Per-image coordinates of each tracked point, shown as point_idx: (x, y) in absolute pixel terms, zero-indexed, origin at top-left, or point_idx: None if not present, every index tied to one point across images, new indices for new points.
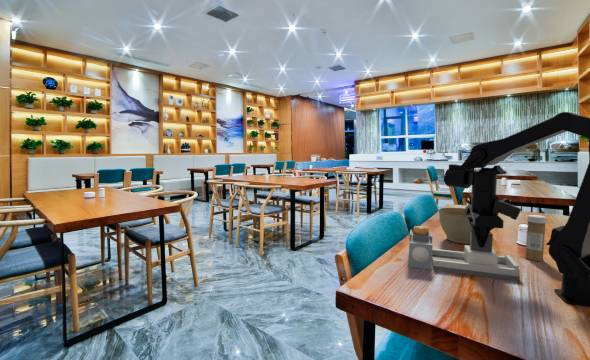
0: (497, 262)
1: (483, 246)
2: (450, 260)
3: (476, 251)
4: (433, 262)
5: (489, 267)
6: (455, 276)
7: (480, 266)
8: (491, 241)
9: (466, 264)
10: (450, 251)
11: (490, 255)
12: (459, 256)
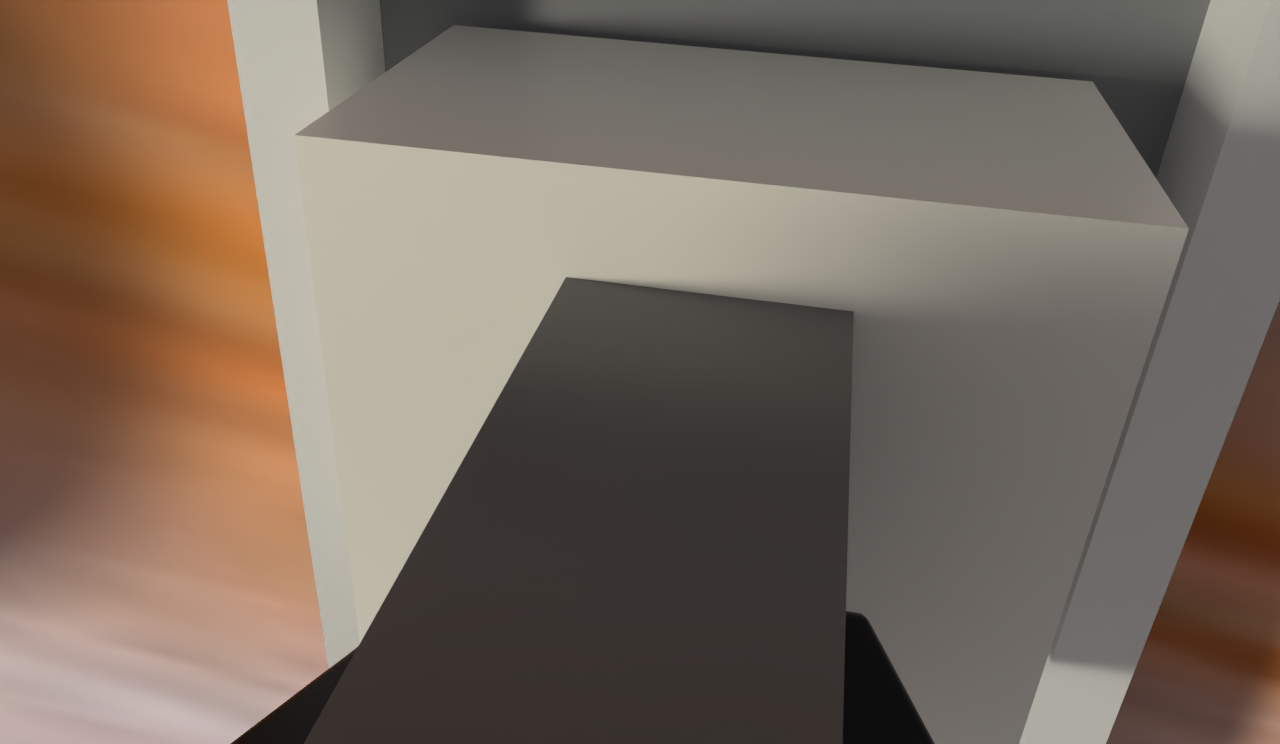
0: (1132, 148)
1: (871, 645)
2: None
3: None
4: None
5: (1258, 337)
6: (1246, 737)
7: (1191, 491)
8: (841, 579)
9: (1122, 701)
10: None
11: (1112, 406)
12: None
